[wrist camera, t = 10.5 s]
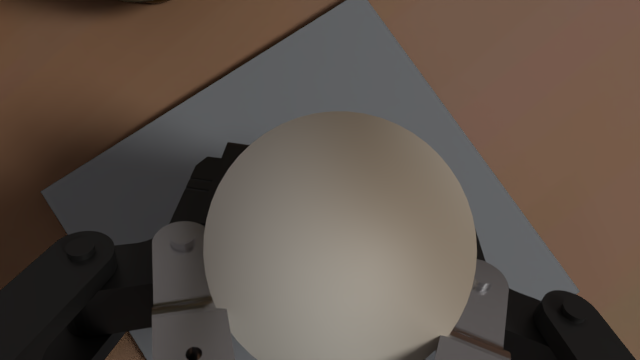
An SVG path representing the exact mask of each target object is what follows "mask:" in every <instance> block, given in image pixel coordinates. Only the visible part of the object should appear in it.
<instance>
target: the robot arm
mask: <svg viewBox="0 0 640 360" xmlns="http://www.w3.org/2000/svg"><path fill="white" fill-rule="evenodd" d="M248 146H249V145H246V144H239V143H231V142H228V143H227V145H226V147H225V150H224V152H223V155H222V158H216V157H208V156H207V157H206V158H205V159H203V160H202V161H201V162H200V163H198V164H197V165H196V166H195V168H194V170H193V172H192V175H191V177H190V180H189V181H188V183H187V186H186V189H185V190H184V192H183V194H182V197H181V199H180V201H179V203H178V205H177V208H176V210H175V212H174V214H173V216H172V219H171V221H170V223H169V224H168V225H166V226H164V227H162V228H161V229H160V230H159V231H158V232H157V233H156V234H155V235H154V237H153V238H152V239H150V240H147V241H143V242H139V243H132V244H123V245H114V243H113V241H112V239H111V238H110V237H109V236H107V235H106V234H103V233H101V232H97V231H80V232H75V233H72V234H69V235H67V236H65V237H63V238H61V239H59V240H58V241H57V242H55V243H54V244H53V245H52V246H51V247H50V248H48V249H47V250H46V251H45V252H44V253H43V254H42V255H40V256H39V257H38V258H37V259H36V260H35V261H34V262H32V263H31V264H30V265H29V266H28V267H27V268H26V269H24V270H23V271H22V272H21V273H20V274H19V275H18V276H16V277H15V278H14V279H13V280H12V281H11V282H10V283H8V284H7V285H6V286H5V287H4V288H3V289H2V290H0V360H104V359H105V358H106V357H107V356H108V354H109V353H110V352H111V351H112V349H113V348H114V347H115V345H116V344H117V343H118V342H119V340H120V339H121V338H122V336H123V335H124V333H125V332H126V331H133V330H139V329H145V328H151V327H152V360H235V356H234V349H233V343H232V337H231V331H230V325H229V319H228V313H227V309H223V308H216V306H215V304H214V301H213V299H212V296H211V294H210V291H209V287H208V283H207V279H206V275H205V266H204V258H203V244H204V231H205V225H206V219H207V215H208V212H209V208H210V205H211V201H212V199H213V197H214V194H215V192H216V190H217V188H218V185H219V184H220V182H221V180H222V179H223V177H224V175H225V174H226V172H227V170H228V169H229V168H230V166H231V165H232V164H233V163H234V161H235V160H236V159H237V157H238V156H239V155H240V154H241V153H242V152H243V151H244V150H245V149H246V148H247V147H248ZM475 231H476V229H475ZM476 243H477V259H476V271H475V276H474V281H473V286H472V289H471V292H470V295H469V298H468V301H467V304H466V306H465V308H464V310H463V312H462V314H461V316H460V318H459V320H458V322H457V323H456V325H455V326H454V328H453V330H452V331H451V333H450V334H449V335H448V336H441V335H440V338H439V341H438V344H437V347H436V350H435V351H434V352H433V353H432V354H430V355H429V356H428V357H427V358H426V359H425V360H636V359H635V358H634V357H633V355H632V354H631V353H630V352H629V350H628V349H627V348H626V347H625V345H624V344H623V343H622V341H621V340H620V339H619V338H618V336H617V335H616V334H615V333H614V331H613V330H612V329H611V328H610V326H609V325H608V324H607V323H606V321H605V320H604V319H603V317H602V316H601V315H600V314H599V312H598V311H597V310H596V309H595V308H594V307H593V306H592V305H591V304H590V303H589V302H587V301H586V300H585V299H583V298H582V297H580V296H578V295H576V294H573V293H571V292H567V291H562V290H554V291H550V292H548V293H547V294H545V296H544V297H543V299H542V300H541V301H540V300H537V299H535V298H532V297H530V296H527V295H524V294H522V293H519V292H517V291H514V290H512V289H510V288H509V285H508V282H507V280H506V278H505V277H504V275H503V274H502V273H501V272H500V271H499V270H498V269H497V268H496V267H494V266H493V265H491V264H489V263H487V262H486V261H485V258H484V255H483V252H482V248H481V245H480V242H479V239H478V236H477V232H476Z"/></svg>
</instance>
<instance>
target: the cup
mask: <svg viewBox="0 0 640 360" xmlns="http://www.w3.org/2000/svg"><path fill="white" fill-rule="evenodd" d="M119 1H125V2H145V3H163V2H167V1H170V0H119Z"/></svg>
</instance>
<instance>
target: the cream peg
mask: <svg viewBox="0 0 640 360" xmlns="http://www.w3.org/2000/svg"><path fill="white" fill-rule="evenodd" d="M203 258H204V266H205V275H206V279H207V283H208V287H209V291H210V294H211V296H212V299H213V301H214V304H215V306H216V308H223V309H227V313H228V319H229V325H230V331H231V333H232V335H233V336H234V337H235V339H236V340H237V341H238V342H239V343H240V344H241V345H242V346H243V347H244V348H245V349H246V350H247V351H248V352H249V353H250V354H251V355H252V356H253V357H254V358H256V359H257V360H425V359H426V358H427V357H428V356H429V355H430V354H432V353H433V352H434V351H435V350H436V347H437V344H438V341H439V338H440V335H441V336H448V335H449V334H450V333H451V331H452V330H453V328H454V326H455V325H456V323H457V322H458V320H459V318H460V316H461V314H462V312H463V310H464V308H465V306H466V304H467V301H468V298H469V295H470V292H471V289H472V286H473V281H474V276H475V271H476V259H477V243H476V231H475V226H474V221H473V216H472V213H471V209H470V206H469V203H468V200H467V198H466V196H465V193H464V191H463V189H462V187H461V185H460V183H459V181H458V180H457V178H456V177H455V175H454V173H453V172H452V170H451V169H450V167H449V166H448V165H447V164H446V163H445V161H444V160H443V159H442V158H441V156H440V155H439V154H438V153H437V152H436V151H435V150H434V149H432V148H431V147H430V146H429V145H428V144H427V143H426V142H425V141H423V140H422V139H421V138H419V137H418V136H416V135H415V134H414V133H412V132H410V131H409V130H407V129H405V128H403V127H401V126H400V125H398V124H395V123H393V122H390V121H388V120H385V119H383V118H380V117H376V116H372V115H368V114H364V113H356V112H349V111H330V112H322V113H314V114H310V115H306V116H302V117H298V118H295V119H293V120H290V121H288V122H286V123H283V124H281V125H279V126H277V127H275V128H274V129H272V130H270V131H268V132H266V133H265V134H264V135H262V136H261V137H259V138H258V139H257V140H255V141H254V142H253V143H251V144H250V145H249V146H248V147H247V148H246V149H245V150H244V151H243V152H242V153H241V154H240V155H239V156H238V157H237V159H236V160H235V161H234V163H233V164H232V165H231V166H230V168H229V169H228V170H227V172H226V174H225V175H224V177H223V179H222V180H221V182H220V184H219V185H218V188H217V190H216V192H215V194H214V197H213V199H212V201H211V205H210V208H209V212H208V215H207V219H206V225H205V231H204V244H203Z"/></svg>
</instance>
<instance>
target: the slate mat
mask: <svg viewBox="0 0 640 360" xmlns="http://www.w3.org/2000/svg"><path fill="white" fill-rule="evenodd" d="M330 111H349V112H356V113H364V114H368V115H372V116H376V117H380V118H383V119H385V120H388V121H390V122H393V123H395V124H398V125H400V126H401V127H403V128H405V129H407V130H409V131H410V132H412V133H414V134H415V135H416V136H418V137H419V138H421V139H422V140H423V141H425V142H426V143H427V144H428V145H429V146H430V147H431V148H432V149H434V150H435V151H436V152H437V153H438V154H439V155H440V156H441V158H442V159H443V160H444V161H445V163H446V164H447V165H448V166H449V167H450V169H451V170H452V172H453V173H454V175H455V177H456V178H457V180H458V181H459V183H460V185H461V187H462V189H463V191H464V193H465V196H466V198H467V200H468V203H469V206H470V209H471V213H472V216H473V221H474V226H475V229H476V232H477V236H478V239H479V242H480V245H481V248H482V252H483V255H484V258H485V261H486V262H487V263H489V264H491V265H493V266H494V267H496V268H497V269H498V270H499V271H500V272H501V273H502V274H503V275H504V277H505V278H506V280H507V282H508V285H509V288H510V289H512V290H514V291H517V292H519V293H522V294H524V295H527V296H530V297H532V298H535V299H537V300H540V301H541V300H542V299H543V297H544V296H545V294H547V293H548V292H550V291H554V290H562V291H567V292H571V293H573V294H577V293H578V292H580V291H579V290H578V288H577V287H576V286H575V284H574V283H573V281H572V280H571V279H570V277H569V276H568V275H567V273H566V272H565V271H564V269H563V268H562V266H561V265H560V264H559V262H558V261H557V260H556V258H555V257H554V255H553V254H552V253H551V251H550V250H549V249H548V247H547V246H546V244H545V243H544V242H543V240H542V239H541V238H540V236H539V235H538V233H537V232H536V231H535V229H534V228H533V227H532V225H531V224H530V223H529V221H528V220H527V218H526V217H525V216H524V214H523V213H522V212H521V210H520V209H519V207H518V206H517V205H516V203H515V202H514V201H513V199H512V198H511V196H510V195H509V194H508V192H507V191H506V190H505V188H504V187H503V186H502V184H501V183H500V181H499V180H498V179H497V177H496V176H495V175H494V173H493V172H492V170H491V169H490V168H489V166H488V165H487V164H486V162H485V161H484V159H483V158H482V157H481V155H480V154H479V153H478V151H477V150H476V148H475V147H474V146H473V144H472V143H471V142H470V140H469V139H468V138H467V136H466V135H465V133H464V132H463V131H462V129H461V128H460V127H459V125H458V124H457V122H456V121H455V120H454V118H453V117H452V116H451V114H450V113H449V111H448V110H447V109H446V107H445V106H444V105H443V103H442V102H441V101H440V99H439V98H438V96H437V95H436V94H435V92H434V91H433V90H432V88H431V87H430V85H429V84H428V83H427V81H426V80H425V79H424V77H423V76H422V74H421V73H420V72H419V70H418V69H417V68H416V66H415V65H414V63H413V62H412V61H411V59H410V58H409V57H408V55H407V54H406V53H405V51H404V50H403V48H402V47H401V46H400V44H399V43H398V42H397V40H396V39H395V37H394V36H393V35H392V33H391V32H390V31H389V29H388V28H387V26H386V25H385V24H384V22H383V21H382V20H381V18H380V17H379V16H378V14H377V13H376V11H375V10H374V9H373V7H372V6H371V5H370V3H369V2H368V0H346V1H344V2H343V3H341V4H340V5H338V6H336V7H335V8H333V9H332V10H330V11H328V12H327V13H325V14H324V15H322V16H320V17H319V18H317V19H316V20H314V21H312V22H311V23H309V24H308V25H306V26H304V27H303V28H301V29H300V30H298V31H297V32H295V33H293V34H292V35H290V36H289V37H287V38H285V39H284V40H282V41H281V42H279V43H277V44H276V45H274V46H273V47H271V48H269V49H268V50H266V51H265V52H263V53H261V54H260V55H258V56H257V57H255V58H253V59H252V60H250V61H249V62H247V63H245V64H244V65H242V66H241V67H239V68H237V69H236V70H234V71H233V72H231V73H229V74H228V75H226V76H225V77H223V78H221V79H220V80H218V81H217V82H215V83H213V84H212V85H210V86H209V87H207V88H205V89H204V90H202V91H201V92H199V93H197V94H196V95H194V96H193V97H191V98H189V99H188V100H186V101H185V102H183V103H181V104H180V105H178V106H177V107H175V108H173V109H172V110H170V111H169V112H167V113H165V114H164V115H162V116H161V117H159V118H157V119H156V120H154V121H153V122H151V123H149V124H148V125H146V126H145V127H143V128H141V129H140V130H138V131H137V132H135V133H133V134H132V135H130V136H129V137H127V138H125V139H124V140H122V141H121V142H119V143H117V144H116V145H114V146H113V147H111V148H109V149H108V150H106V151H105V152H103V153H101V154H100V155H98V156H97V157H95V158H93V159H92V160H90V161H89V162H87V163H85V164H84V165H82V166H81V167H79V168H77V169H76V170H74V171H73V172H71V173H69V174H68V175H66V176H65V177H63V178H61V179H60V180H58V181H57V182H55V183H53V184H52V185H50V186H49V187H47V188H45V189H44V190H42V191H41V193H42V195H43V196H44V198H45V199H46V201H47V203H48V204H49V206H50V207H51V209H52V210H53V212H54V214H55V215H56V217H57V218H58V220H59V221H60V223H61V225H62V226H63V228H64V229H65V231H66V233H67V234H68V235H69V234H72V233H75V232H80V231H97V232H101V233H103V234H106V235H107V236H109V237H110V238H111V239H112V241H113V243H114V245H123V244H132V243H139V242H143V241H147V240H150V239H152V238H153V237H154V235H155V234H156V233H157V232H158V231H159V230H160V229H161V228H162V227H164V226H166V225H168V224H169V223H170V221H171V219H172V216H173V214H174V212H175V210H176V208H177V205H178V203H179V201H180V199H181V197H182V194H183V192H184V190H185V189H186V186H187V183H188V181H189V180H190V177H191V175H192V172H193V170H194V168H195V166H196V165H197V164H198V163H200V162H201V161H202V160H203V159H205V158H206V157H207V156H208V157H216V158H222V155H223V152H224V150H225V147H226V145H227V143H228V142H231V143H239V144H246V145H250V144H251V143H253V142H254V141H255V140H257V139H258V138H259V137H261V136H262V135H264V134H265V133H266V132H268V131H270V130H272V129H274V128H275V127H277V126H279V125H281V124H283V123H286V122H288V121H290V120H293V119H295V118H298V117H302V116H306V115H310V114H314V113H322V112H330ZM129 332H130V334H131V335H132V337H133V338H134V340H135V342H136V343H137V345H138V346H139V348H140V349H141V351H142V353H143V354H144V356H145V357H146V359H147V360H152V327H151V328H145V329H139V330H133V331H129ZM231 337H232V343H233V349H234V356H235V360H257V359H256V358H254V357H253V356H252V355H251V354H250V353H249V352H248V351H247V350H246V349H245V348H244V347H243V346H242V345H241V344H240V343H239V342H238V341H237V340H236V339H235V337H234V336H233V335H232V333H231Z"/></svg>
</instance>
